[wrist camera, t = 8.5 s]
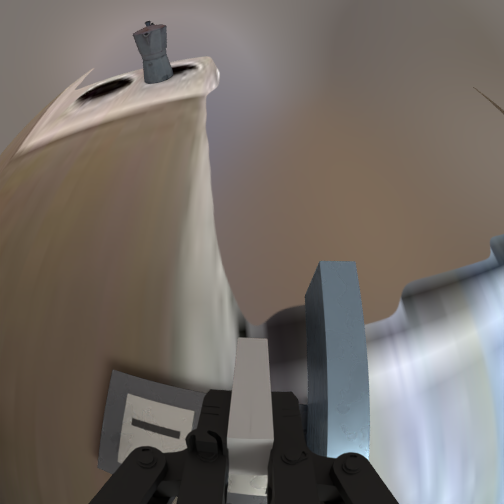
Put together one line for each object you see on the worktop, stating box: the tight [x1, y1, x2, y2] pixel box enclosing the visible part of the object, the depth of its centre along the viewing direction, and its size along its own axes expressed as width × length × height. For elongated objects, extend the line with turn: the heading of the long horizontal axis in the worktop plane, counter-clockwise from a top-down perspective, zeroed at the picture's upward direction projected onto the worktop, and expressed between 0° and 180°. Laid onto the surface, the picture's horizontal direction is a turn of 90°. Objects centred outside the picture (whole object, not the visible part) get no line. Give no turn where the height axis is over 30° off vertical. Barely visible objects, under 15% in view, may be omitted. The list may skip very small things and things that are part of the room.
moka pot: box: [133, 21, 173, 84], centre depth 57 cm, size 10×15×20 cm, turn 14°
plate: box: [98, 370, 308, 504], centre depth 20 cm, size 25×12×3 cm, turn 83°
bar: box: [305, 261, 370, 461], centre depth 18 cm, size 22×4×7 cm, turn 178°
